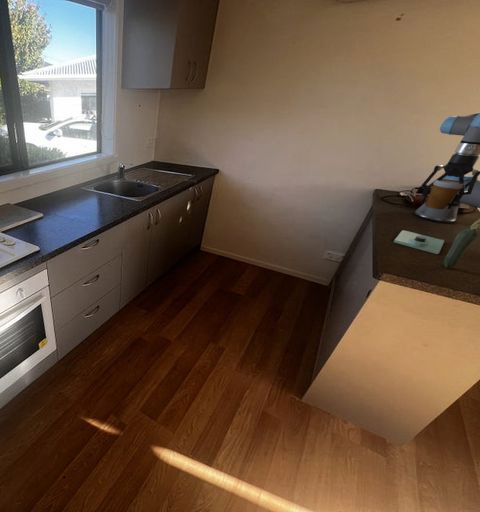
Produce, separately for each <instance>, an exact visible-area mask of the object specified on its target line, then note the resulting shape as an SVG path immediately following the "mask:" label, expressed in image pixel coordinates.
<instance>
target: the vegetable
mask: <svg viewBox="0 0 480 512" xmlns="http://www.w3.org/2000/svg"><path fill="white" fill-rule="evenodd" d="M478 229H480V217H479V218H478V219H477V220H476V221H475V222H474V223H473V224H471V226H470V227H467V228H464V229H462V230H461V231H460V232H459V233H457V236H456V237H455V239H454V240H453V242H452V245H451V247H450V248H449V250H448V251H447V254H446V255H445V258H444V261H443V265H444V267H445V268H448V269H452V268H453V267H455V266H456V265H458V264H459V262H460V261H461V259H462V257H463V256H464V253H465V252H466V250H467V249H468V248H469V247H470V246H471V245H472V244H473V243H474V242H475V241H476V240H477V238H478V237H479V230H478Z"/></svg>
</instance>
